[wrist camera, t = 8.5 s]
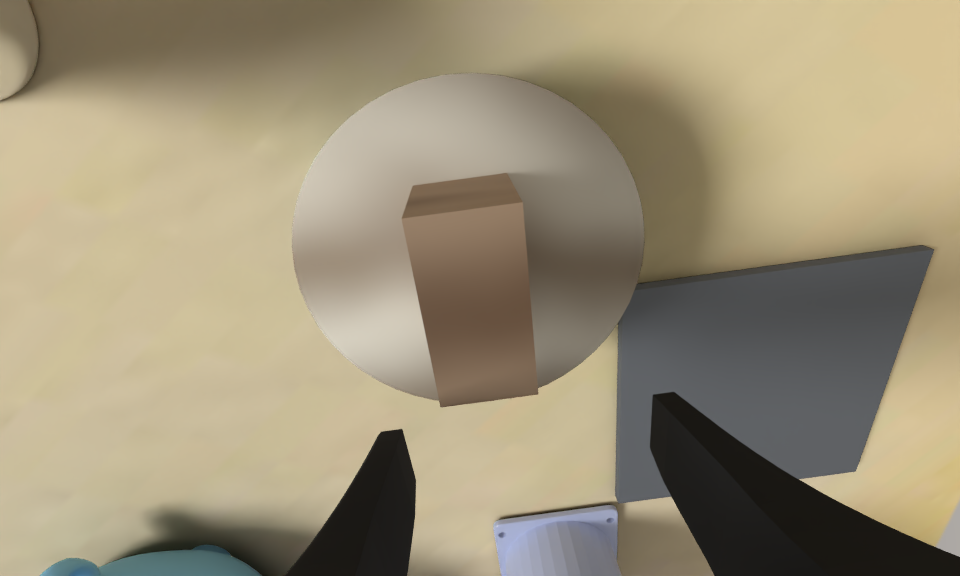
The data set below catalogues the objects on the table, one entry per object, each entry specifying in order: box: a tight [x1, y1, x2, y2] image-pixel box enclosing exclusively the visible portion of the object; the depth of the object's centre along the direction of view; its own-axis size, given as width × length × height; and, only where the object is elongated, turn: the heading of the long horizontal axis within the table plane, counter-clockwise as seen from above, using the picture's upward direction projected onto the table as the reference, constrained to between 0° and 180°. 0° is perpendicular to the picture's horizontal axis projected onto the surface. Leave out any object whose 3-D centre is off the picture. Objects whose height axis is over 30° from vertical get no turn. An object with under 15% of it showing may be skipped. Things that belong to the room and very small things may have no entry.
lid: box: [292, 73, 644, 407], centre depth 14 cm, size 12×12×4 cm
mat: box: [615, 245, 934, 504], centre depth 25 cm, size 15×15×1 cm
